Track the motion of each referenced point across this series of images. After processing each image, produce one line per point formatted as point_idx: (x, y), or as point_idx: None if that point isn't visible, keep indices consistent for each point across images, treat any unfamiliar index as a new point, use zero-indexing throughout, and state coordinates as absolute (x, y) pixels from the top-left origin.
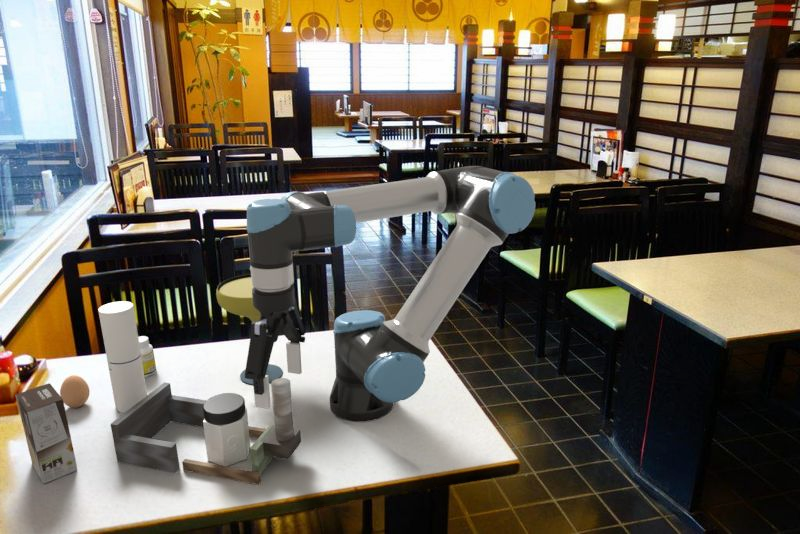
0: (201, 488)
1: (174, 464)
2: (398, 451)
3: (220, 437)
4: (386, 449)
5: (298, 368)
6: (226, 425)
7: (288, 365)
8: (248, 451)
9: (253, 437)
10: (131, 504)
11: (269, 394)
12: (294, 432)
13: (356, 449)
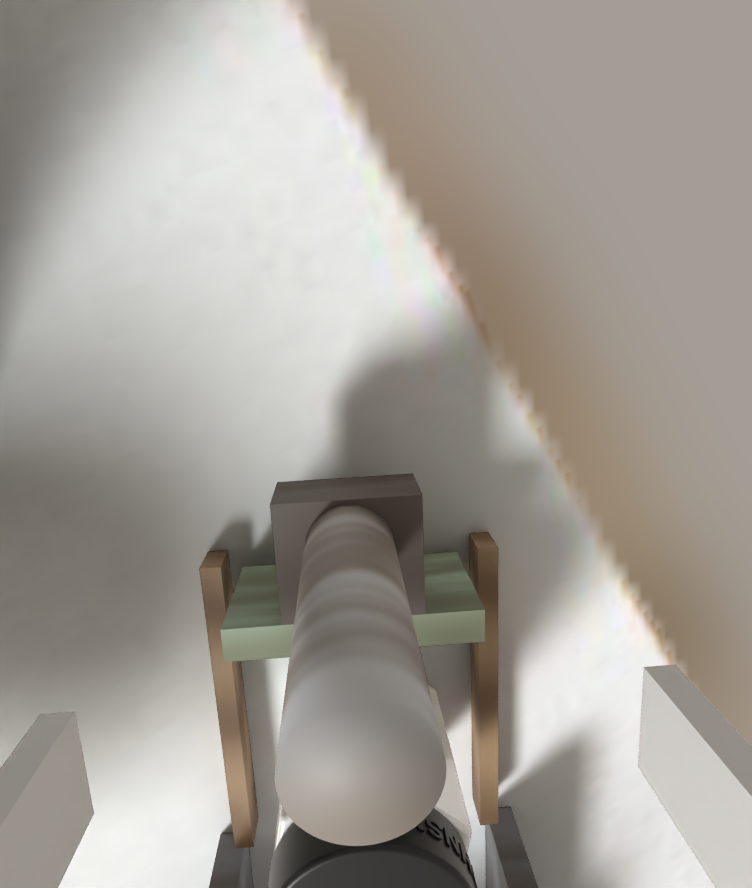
0: (554, 692)
1: (517, 836)
2: (84, 40)
3: (460, 789)
4: (93, 109)
5: (50, 764)
6: (447, 815)
7: (61, 868)
8: None
9: (243, 694)
10: (666, 824)
11: (718, 750)
12: (305, 518)
13: (151, 255)
